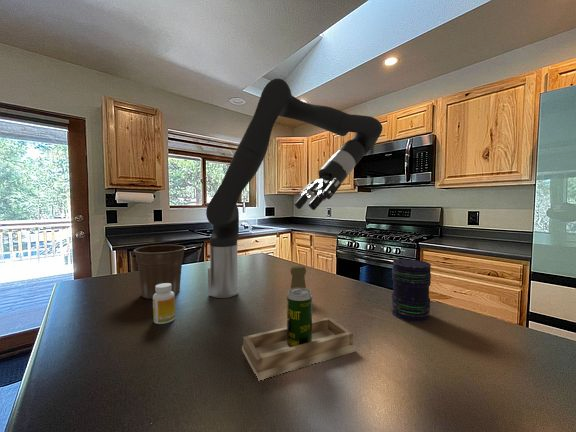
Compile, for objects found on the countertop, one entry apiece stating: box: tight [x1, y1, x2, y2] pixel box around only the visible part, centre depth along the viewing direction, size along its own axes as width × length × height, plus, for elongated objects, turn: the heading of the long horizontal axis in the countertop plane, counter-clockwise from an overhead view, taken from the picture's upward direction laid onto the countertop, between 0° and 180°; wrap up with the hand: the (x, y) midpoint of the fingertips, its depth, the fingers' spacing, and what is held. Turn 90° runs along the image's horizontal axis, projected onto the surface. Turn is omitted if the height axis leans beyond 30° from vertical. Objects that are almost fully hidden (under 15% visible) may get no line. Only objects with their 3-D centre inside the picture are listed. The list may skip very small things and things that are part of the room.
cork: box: [289, 264, 307, 290], centre depth 88 cm, size 6×6×11 cm
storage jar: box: [391, 258, 432, 324], centre depth 75 cm, size 10×10×15 cm
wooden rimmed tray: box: [241, 316, 357, 382], centre depth 57 cm, size 22×11×4 cm, turn 116°
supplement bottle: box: [152, 283, 176, 325], centre depth 72 cm, size 5×5×10 cm
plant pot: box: [133, 244, 186, 300], centre depth 93 cm, size 16×16×16 cm
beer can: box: [286, 287, 313, 348], centre depth 57 cm, size 5×5×12 cm
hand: (303, 207), depth 75 cm, fingers open, 8 cm apart
